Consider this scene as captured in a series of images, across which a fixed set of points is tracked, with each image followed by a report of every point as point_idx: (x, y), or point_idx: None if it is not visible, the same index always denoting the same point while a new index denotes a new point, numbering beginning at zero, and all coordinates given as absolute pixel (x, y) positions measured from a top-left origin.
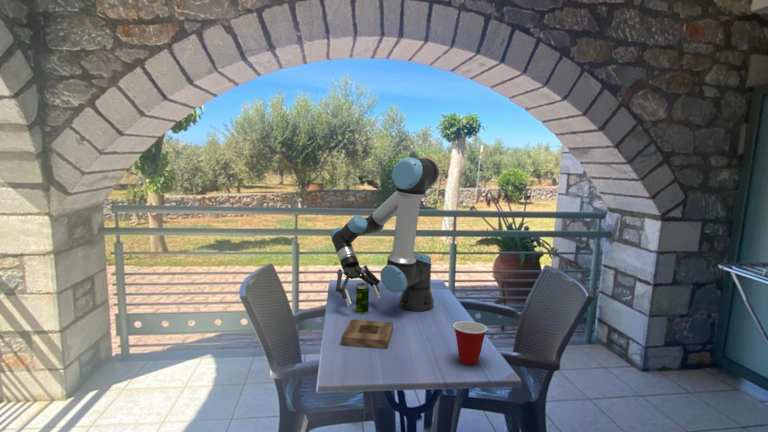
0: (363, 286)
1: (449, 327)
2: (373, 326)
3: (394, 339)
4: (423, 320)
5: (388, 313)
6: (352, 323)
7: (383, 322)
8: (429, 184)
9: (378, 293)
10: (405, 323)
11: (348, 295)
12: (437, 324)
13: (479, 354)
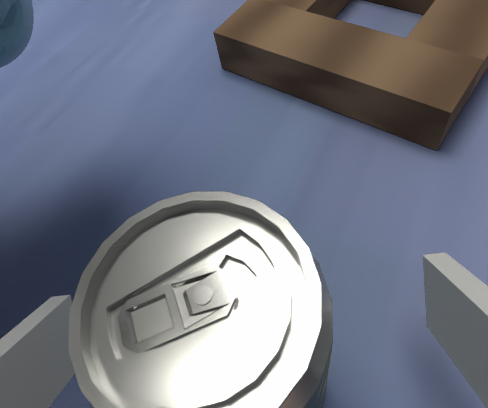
0: (227, 195)
1: None
2: (335, 22)
3: None
4: (19, 117)
5: None
6: (457, 61)
7: (262, 39)
8: None
9: (17, 327)
10: (119, 111)
11: (483, 305)
12: (12, 70)
13: None
